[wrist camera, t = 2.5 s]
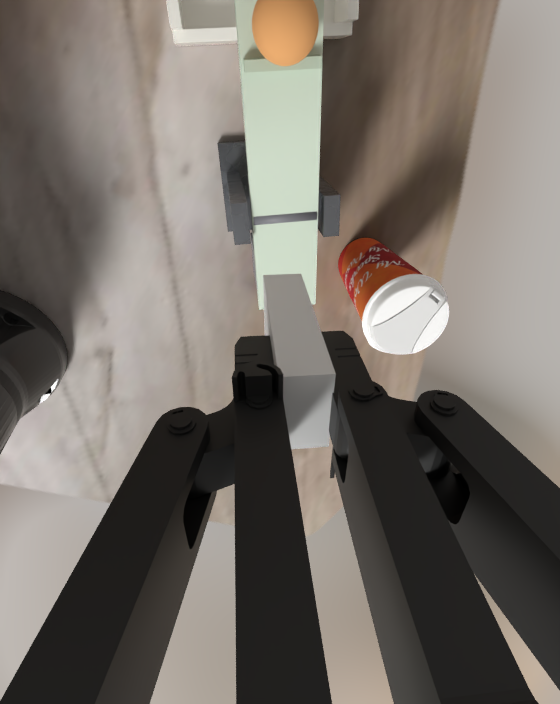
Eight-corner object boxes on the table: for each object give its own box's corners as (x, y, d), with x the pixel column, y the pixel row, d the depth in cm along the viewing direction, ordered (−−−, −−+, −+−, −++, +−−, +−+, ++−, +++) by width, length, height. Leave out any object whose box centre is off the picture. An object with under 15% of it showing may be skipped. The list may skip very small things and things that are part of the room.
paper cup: (361, 213, 43) (415, 262, 31) (408, 253, 46) (472, 311, 35) (314, 270, 46) (347, 335, 34) (361, 304, 49) (406, 374, 38)
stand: (227, 229, 42) (231, 276, 32) (217, 142, 38) (218, 166, 28) (313, 221, 43) (343, 265, 33) (313, 136, 38) (348, 156, 28)
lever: (252, 271, 41) (260, 315, 35) (229, -7, 28) (234, -12, 22) (301, 266, 41) (317, 309, 36) (302, -10, 28) (327, -15, 22)
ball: (251, 56, 24) (257, 77, 22) (246, -24, 22) (253, -11, 19) (310, 53, 25) (322, 73, 22) (313, -27, 22) (327, -14, 20)
